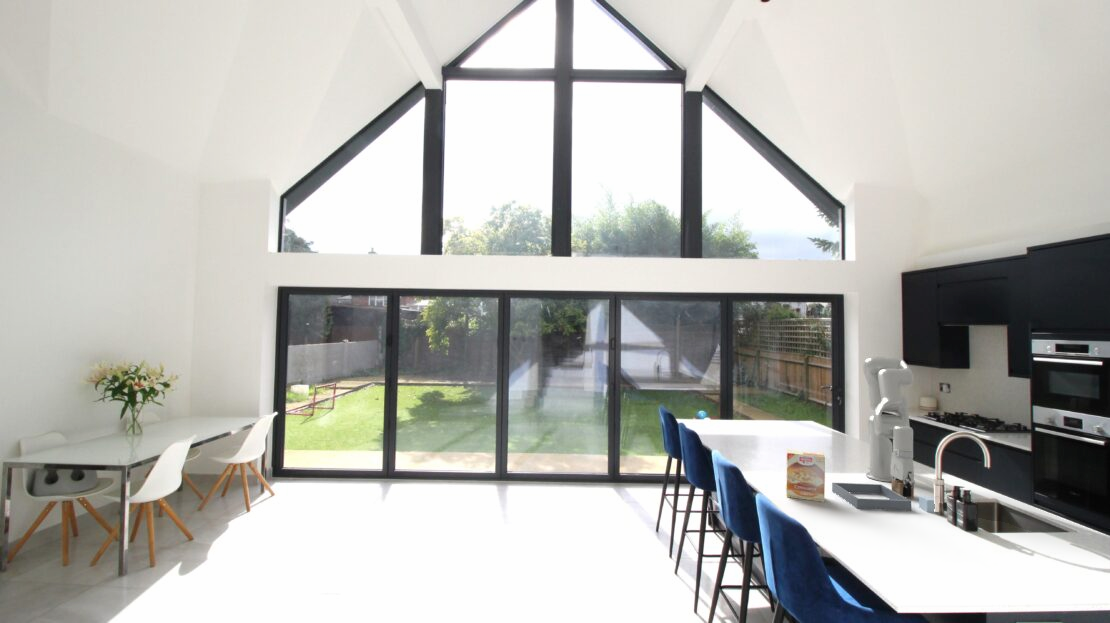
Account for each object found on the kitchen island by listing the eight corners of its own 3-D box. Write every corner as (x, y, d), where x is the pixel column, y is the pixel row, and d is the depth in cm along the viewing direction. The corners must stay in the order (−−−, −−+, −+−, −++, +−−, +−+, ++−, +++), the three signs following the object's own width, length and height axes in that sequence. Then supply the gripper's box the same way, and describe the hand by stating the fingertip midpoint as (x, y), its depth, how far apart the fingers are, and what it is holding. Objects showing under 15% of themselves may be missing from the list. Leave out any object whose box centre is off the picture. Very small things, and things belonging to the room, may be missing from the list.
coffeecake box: (786, 497, 225) (786, 452, 225) (785, 492, 231) (786, 449, 232) (824, 502, 219) (825, 456, 219) (823, 497, 226) (823, 452, 226)
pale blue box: (919, 507, 215) (919, 495, 215) (931, 508, 215) (931, 496, 215) (926, 512, 210) (927, 500, 210) (939, 512, 210) (939, 500, 210)
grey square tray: (832, 491, 234) (832, 482, 234) (881, 493, 233) (881, 484, 233) (857, 508, 213) (857, 498, 213) (911, 510, 211) (911, 501, 211)
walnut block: (891, 493, 234) (891, 479, 234) (905, 493, 233) (905, 480, 233) (899, 497, 228) (899, 483, 228) (913, 498, 227) (913, 484, 227)
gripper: (883, 448, 240) (882, 487, 239) (906, 458, 222) (905, 500, 222) (899, 449, 239) (899, 488, 239) (924, 459, 222) (923, 501, 222)
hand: (902, 493), depth 230 cm, fingers closed on walnut block, 6 cm apart
